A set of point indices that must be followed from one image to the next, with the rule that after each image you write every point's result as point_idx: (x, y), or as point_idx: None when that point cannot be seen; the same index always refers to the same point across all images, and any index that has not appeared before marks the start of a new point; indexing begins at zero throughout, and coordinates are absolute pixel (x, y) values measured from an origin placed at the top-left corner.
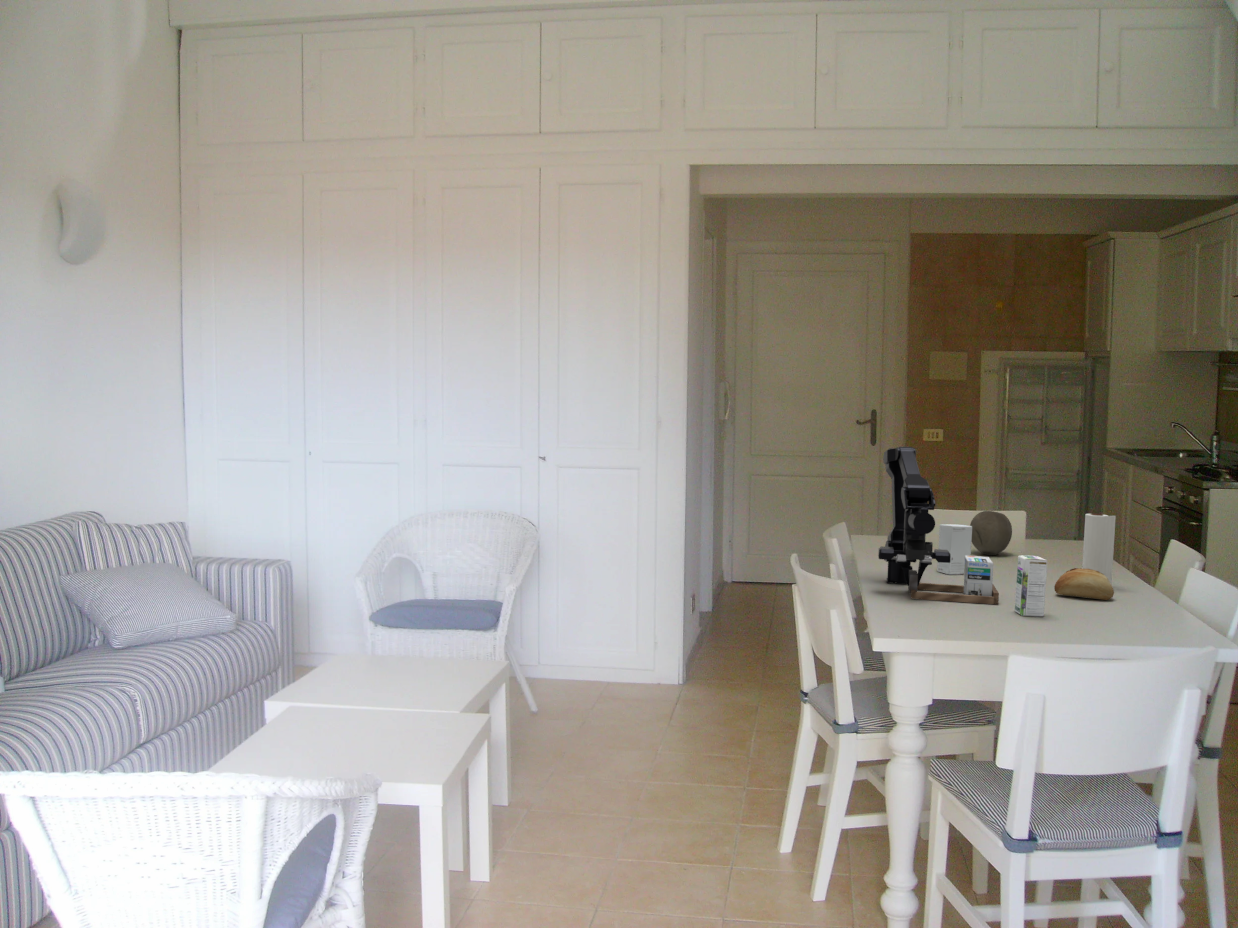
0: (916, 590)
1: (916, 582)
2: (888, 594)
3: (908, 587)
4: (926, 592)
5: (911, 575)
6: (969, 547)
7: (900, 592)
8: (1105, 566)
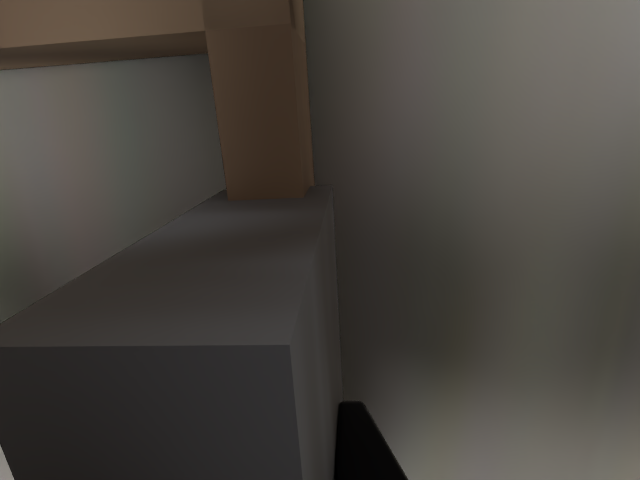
0: (217, 200)
1: (159, 237)
2: (611, 212)
3: None
4: (19, 15)
5: (236, 326)
6: None
7: (433, 387)
8: None
